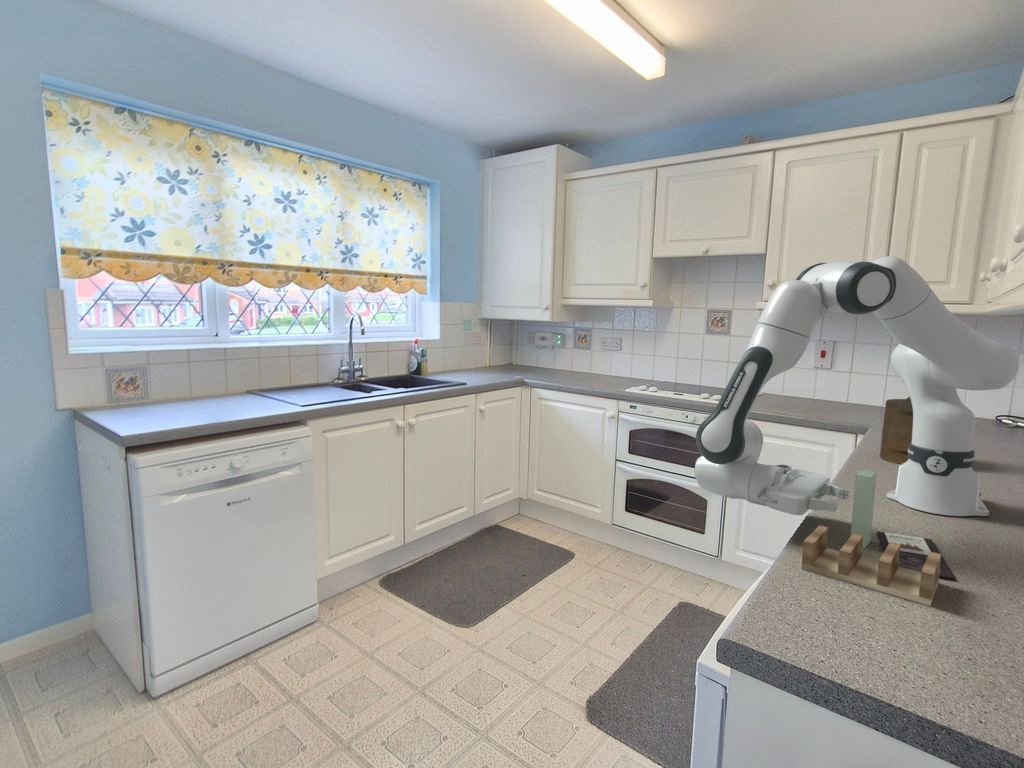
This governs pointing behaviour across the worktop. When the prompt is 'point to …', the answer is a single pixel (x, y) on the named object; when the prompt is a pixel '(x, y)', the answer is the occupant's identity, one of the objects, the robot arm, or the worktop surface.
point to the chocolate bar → (915, 552)
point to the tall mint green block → (863, 504)
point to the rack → (871, 567)
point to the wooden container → (897, 430)
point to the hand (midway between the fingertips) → (843, 500)
